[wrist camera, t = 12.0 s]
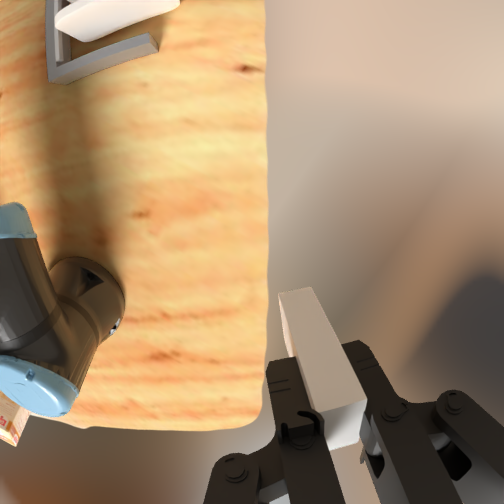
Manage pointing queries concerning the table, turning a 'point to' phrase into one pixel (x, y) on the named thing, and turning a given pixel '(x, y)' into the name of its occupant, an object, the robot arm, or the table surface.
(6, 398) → the coffeecake box
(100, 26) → the cable organizer
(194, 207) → the table surface
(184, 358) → the table surface
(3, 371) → the robot arm
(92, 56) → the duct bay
